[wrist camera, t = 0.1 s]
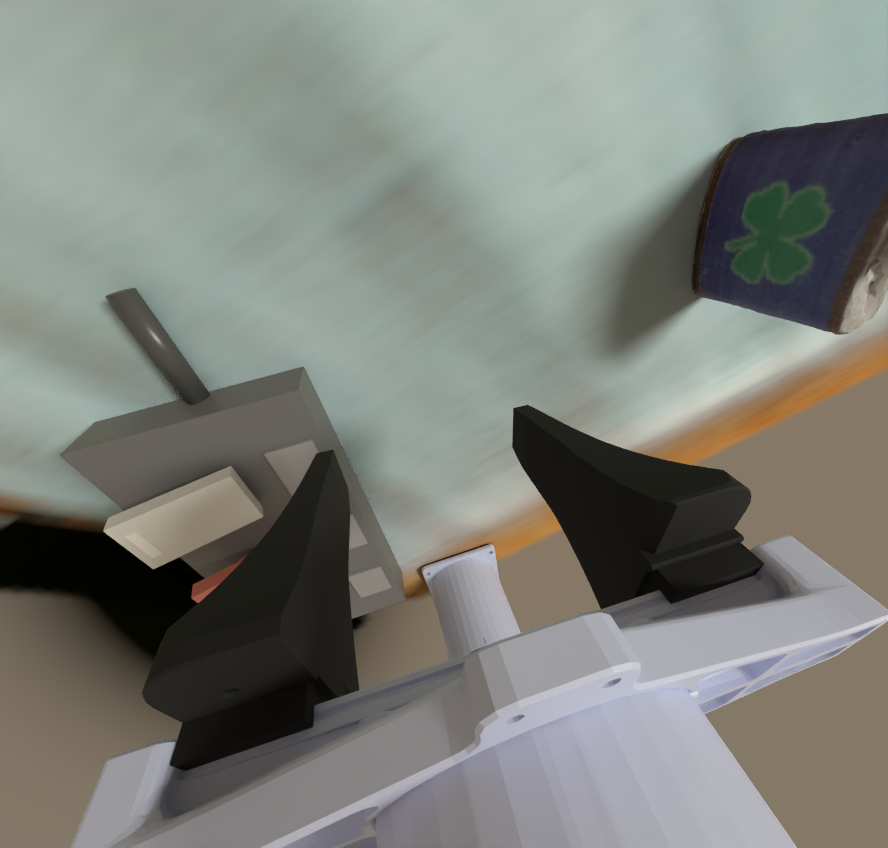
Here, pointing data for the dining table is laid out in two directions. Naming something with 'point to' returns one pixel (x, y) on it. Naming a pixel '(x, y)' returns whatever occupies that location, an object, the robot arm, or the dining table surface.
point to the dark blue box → (800, 224)
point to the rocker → (185, 518)
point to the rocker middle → (211, 582)
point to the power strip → (230, 456)
